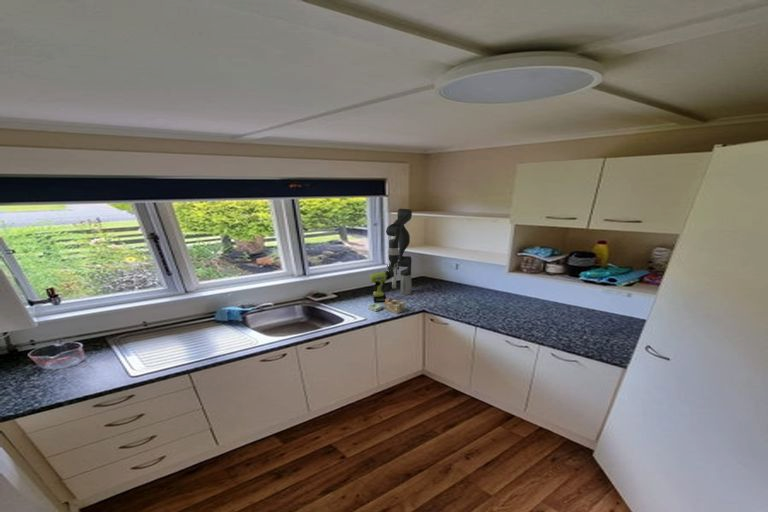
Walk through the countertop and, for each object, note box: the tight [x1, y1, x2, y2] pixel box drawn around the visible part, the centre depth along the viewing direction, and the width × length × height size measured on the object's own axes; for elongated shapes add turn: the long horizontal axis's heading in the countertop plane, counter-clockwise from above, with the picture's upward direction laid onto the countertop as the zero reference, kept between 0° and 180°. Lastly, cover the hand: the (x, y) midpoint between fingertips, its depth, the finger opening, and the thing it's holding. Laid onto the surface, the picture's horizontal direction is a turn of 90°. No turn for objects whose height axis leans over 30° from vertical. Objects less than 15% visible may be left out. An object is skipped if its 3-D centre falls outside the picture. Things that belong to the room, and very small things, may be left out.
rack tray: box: [367, 303, 384, 312], centre depth 237 cm, size 8×8×2 cm
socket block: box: [385, 299, 406, 315], centre depth 234 cm, size 10×10×6 cm
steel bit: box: [391, 267, 397, 290], centre depth 229 cm, size 3×3×16 cm
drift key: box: [384, 297, 392, 309], centre depth 238 cm, size 3×3×7 cm
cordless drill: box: [369, 270, 399, 304], centre depth 252 cm, size 23×7×25 cm, turn 99°
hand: (393, 276), depth 229 cm, fingers closed on steel bit, 3 cm apart
